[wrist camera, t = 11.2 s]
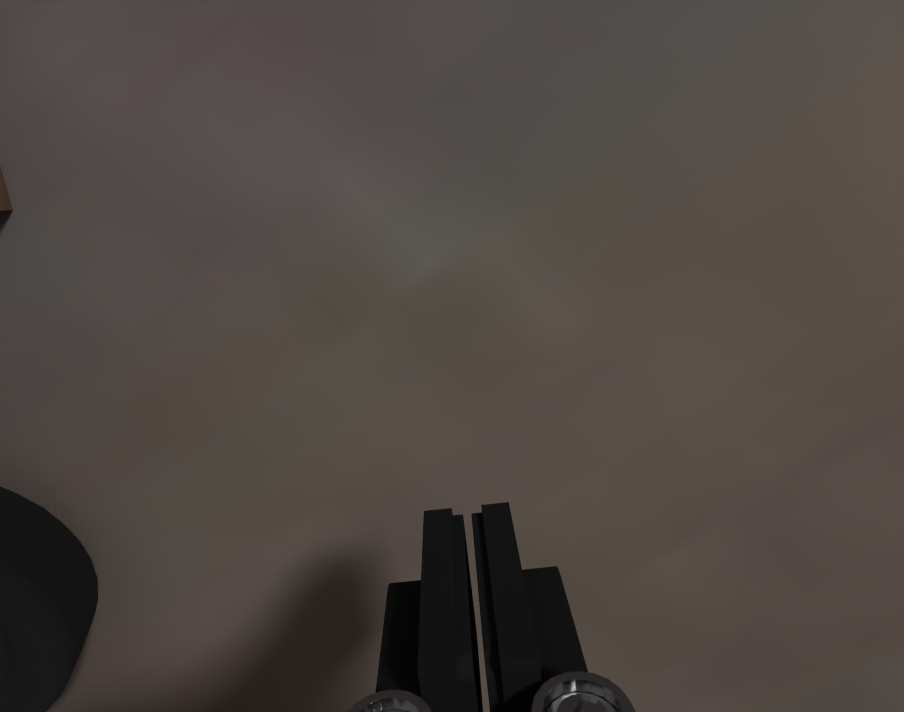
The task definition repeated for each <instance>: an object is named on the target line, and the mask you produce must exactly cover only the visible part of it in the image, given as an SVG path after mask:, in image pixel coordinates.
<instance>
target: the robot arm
mask: <svg viewBox="0 0 904 712" xmlns="http://www.w3.org/2000/svg"><path fill="white" fill-rule="evenodd" d="M481 506H482V513H473V514H472V525H473V536H474V548H475V559H476V570H477V581H478V592H479V603H480V615H481V626H482V637H483V648H484V659H485V669H486V678H487V687H488V696H489V705H490V712H636V711H635V709H634V708H633V706H632V704H631V702H630V700H629V699H628V697H627V696H626V695H625V694H624V692H623V691H622V690H621V688H619V687H618V686H617V685H615V684H614V683H613V682H611V681H610V680H609V679H607V678H604V677H602V676H599V675H597V674H594V673H588V670H587V667H586V663H585V660H584V656H583V653H582V649H581V646H580V642H579V639H578V635H577V632H576V628H575V625H574V621H573V618H572V614H571V611H570V607H569V604H568V600H567V597H566V593H565V590H564V586H563V583H562V579H561V576H560V573H559V570H558V568H557V566H555V567H545V568H535V569H526V570H522V568H521V563H520V558H519V553H518V547H517V542H516V537H515V532H514V527H513V522H512V517H511V512H510V507H509V503H508V502H507V503H497V504H487V505H481ZM348 712H483V707H482V694H481V681H480V669H479V656H478V643H477V632H476V623H475V614H474V606H473V597H472V589H471V580H470V571H469V563H468V554H467V545H466V537H465V528H464V520H463V515H452V509H451V508H449V509H439V510H429V511H424V523H423V547H422V571H421V580H418V581H408V582H398V583H390V584H389V586H388V591H387V600H386V609H385V617H384V626H383V634H382V643H381V652H380V660H379V669H378V677H377V686H376V693H374V694H372V695H369V696H366V697H365V698H363V699H362V700H360V701H359V702H357V703H356V704H354V705H353V706H352V708H351V709H350V710H349V711H348Z"/></svg>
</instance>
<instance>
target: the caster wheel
mask: <svg viewBox="0 0 904 712" xmlns="http://www.w3.org/2000/svg"><path fill="white" fill-rule="evenodd" d="M97 599H98V591H97V577H96V574H95V571H94V568H93V565H92V562H91V559H90V557H89V555H88V554H87V552H86V551H85V549H84V548H83V546H82V545H81V543H80V542H79V540H78V539H77V538H76V537H75V536H74V535H73V533H72V532H71V531H70V530H69V529H68V528H67V527H66V526H65V525H64V524H63V523H61V522H60V521H59V520H58V519H57V518H55V517H54V516H53V515H52V514H50V513H49V512H48V511H47V510H45V509H44V508H43V507H41V506H39V505H37V504H35V503H33V502H31V501H30V500H28V499H26V498H24V497H22V496H20V495H18V494H17V493H15V492H13V491H10V490H7V489H5V488H2V487H0V712H46V711H47V710H48V709H49V708H50V707H51V705H52V704H53V703H54V702H55V701H56V700H57V699H58V698H59V696H60V695H61V693H62V691H63V690H64V688H65V686H66V684H67V681H68V679H69V677H70V675H71V672H72V670H73V668H74V665H75V663H76V660H77V658H78V655H79V653H80V651H81V648H82V645H83V643H84V640H85V637H86V635H87V632H88V629H89V627H90V624H91V621H92V619H93V616H94V614H95V610H96V604H97Z"/></svg>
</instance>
